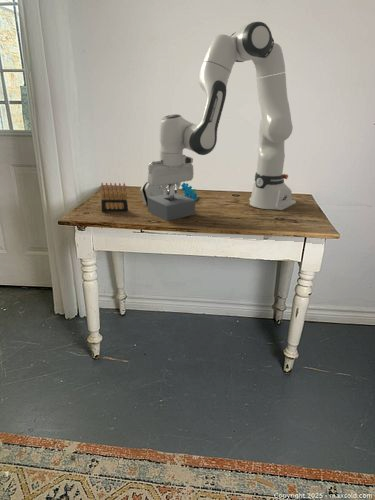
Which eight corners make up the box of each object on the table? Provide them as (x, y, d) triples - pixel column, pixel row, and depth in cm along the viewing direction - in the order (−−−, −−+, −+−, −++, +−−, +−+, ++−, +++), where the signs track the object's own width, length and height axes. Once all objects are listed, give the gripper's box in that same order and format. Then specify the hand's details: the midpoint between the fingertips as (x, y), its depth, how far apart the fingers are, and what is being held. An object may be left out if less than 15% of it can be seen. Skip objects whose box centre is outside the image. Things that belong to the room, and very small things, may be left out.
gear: (192, 200, 154) (179, 182, 155) (183, 208, 157) (171, 190, 158) (202, 197, 164) (190, 181, 165) (194, 205, 167) (182, 188, 168)
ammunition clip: (101, 211, 142) (99, 183, 137) (102, 210, 144) (100, 182, 139) (127, 211, 143) (126, 183, 138) (128, 210, 145) (126, 182, 140)
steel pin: (171, 204, 144) (171, 181, 140) (176, 206, 142) (176, 182, 138) (165, 206, 142) (165, 182, 138) (170, 207, 140) (170, 183, 136)
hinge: (154, 206, 151) (146, 184, 148) (145, 208, 153) (137, 186, 150) (167, 196, 166) (160, 175, 163) (158, 198, 167) (151, 178, 164)
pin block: (174, 205, 152) (174, 192, 150) (194, 214, 142) (195, 200, 140) (147, 211, 144) (147, 197, 142) (166, 220, 134) (166, 206, 132)
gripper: (153, 163, 126) (153, 200, 132) (196, 158, 138) (195, 192, 143) (144, 160, 130) (145, 196, 136) (186, 155, 142) (185, 188, 148)
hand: (171, 194), depth 140 cm, fingers closed on steel pin, 3 cm apart
